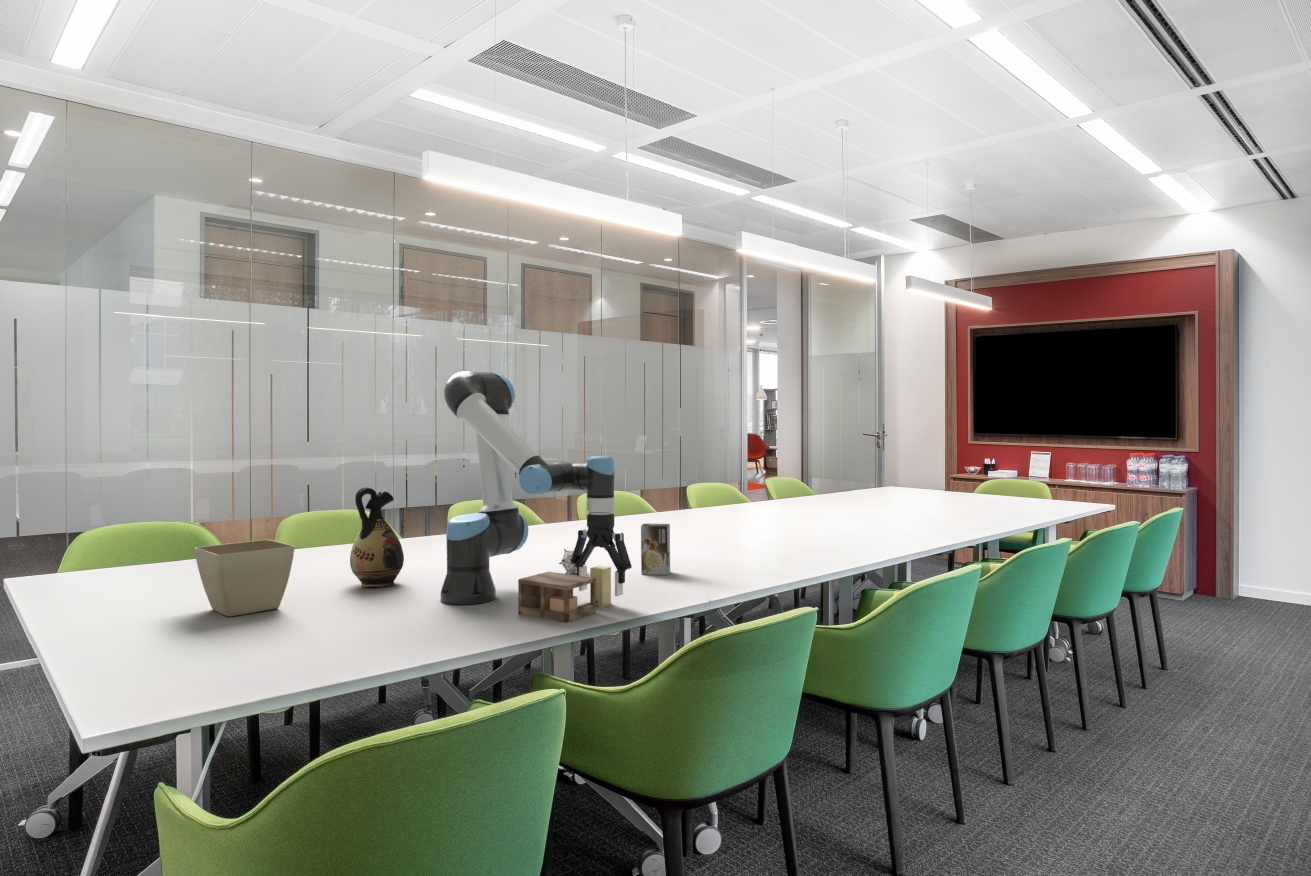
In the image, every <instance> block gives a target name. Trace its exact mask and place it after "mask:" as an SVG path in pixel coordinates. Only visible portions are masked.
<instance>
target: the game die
mask: <svg viewBox="0 0 1311 876" xmlns="http://www.w3.org/2000/svg"><path fill="white" fill-rule="evenodd" d="M563 551H564V554H563V557H562V559H561V561H560V562H559V563H558V564H559V565H562V567H563V568H564V570H565V574H569V573H577V566H576V565H575V564H574V563H573V564H572V563H571V559H572V555H573V552H574V550H572V549H571V550H566V549H565V548H564V549H563Z"/></svg>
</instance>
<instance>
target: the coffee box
mask: <svg viewBox="0 0 1311 876" xmlns="http://www.w3.org/2000/svg"><path fill="white" fill-rule="evenodd" d="M670 527H671V524H670V523H642V524H641V525H640V557H641V558H640V562H641V563H640V565H641V566H640V567H641V568H640V570H641V575H648V576H649V575H653V576H654V575H655V576H656V575H657V576H669V575H670V573H671V537H670V536H671V533H670V532H671V530H670V529H671V528H670Z"/></svg>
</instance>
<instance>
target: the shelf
mask: <svg viewBox="0 0 1311 876" xmlns="http://www.w3.org/2000/svg"><path fill="white" fill-rule="evenodd" d="M517 583H518V584H517V585H518V589H517V590H518V591H517V592H518V596H517V597H518V598H517V599H518V600H517V601H518V602H517V603H518V609H517V610H518V612H517V613H518V615H523V616H528V615H529V616H530V617H535V618H540V619H545V620H551V621H558V622H562V623H563V622H564V623H569V622H573V621H574V620H577V619H581V618H583V617H585V616H588V615H592V614H594V613H596V612H597V609H596V608H597V606H596V578H592V577H590V576H587V577H585V576H577V574H576V575H575V574H569V573H567V574H566V573H562V572H553V571H545V572H541V573H537V574H533V575H530V576H526V577H521V578H518V582H517ZM589 584H590V587H589V588H590V590H589V592H590V593H589V594H590V596H589V597H590V600H589V601H590V602H589V603H590V605H589V606H586V607H583V608H580V609H577V610H574V611H571V612H569V595H571V596H574V589H575V588H579V587H580V586H583V585H587V586H588V585H589ZM561 594H564V612H558V611H552V610H550V598H551V597H554V596H558V595H561ZM529 616H528V617H529Z"/></svg>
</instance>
